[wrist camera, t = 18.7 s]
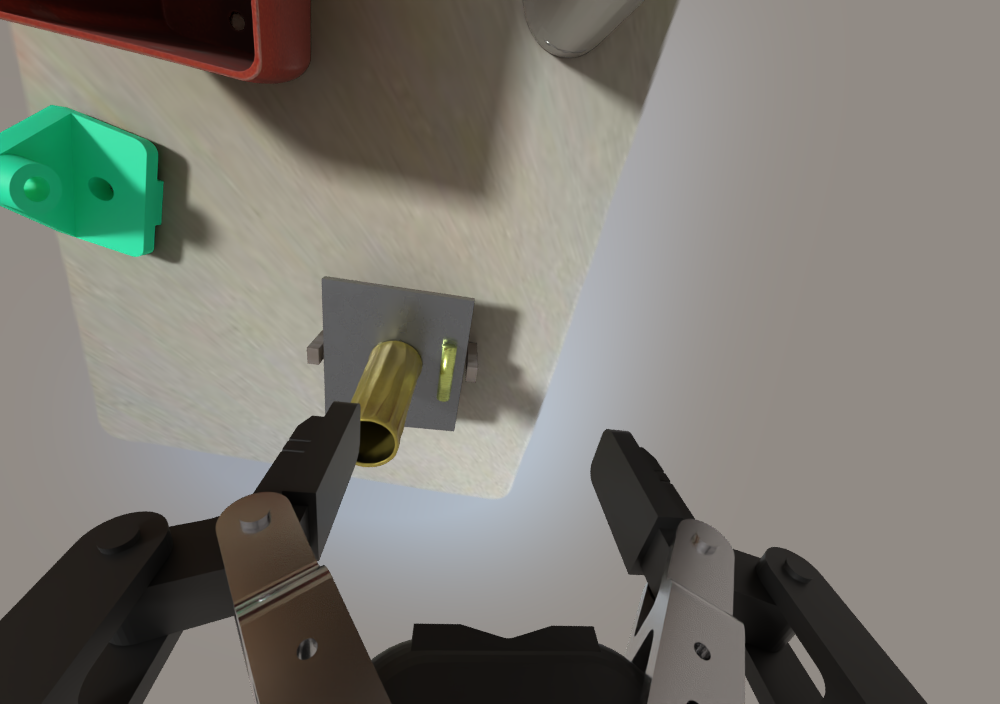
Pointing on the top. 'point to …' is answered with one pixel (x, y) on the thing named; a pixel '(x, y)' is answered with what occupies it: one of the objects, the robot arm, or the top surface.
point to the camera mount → (82, 179)
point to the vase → (385, 400)
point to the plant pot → (186, 31)
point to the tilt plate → (397, 317)
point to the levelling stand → (317, 355)
